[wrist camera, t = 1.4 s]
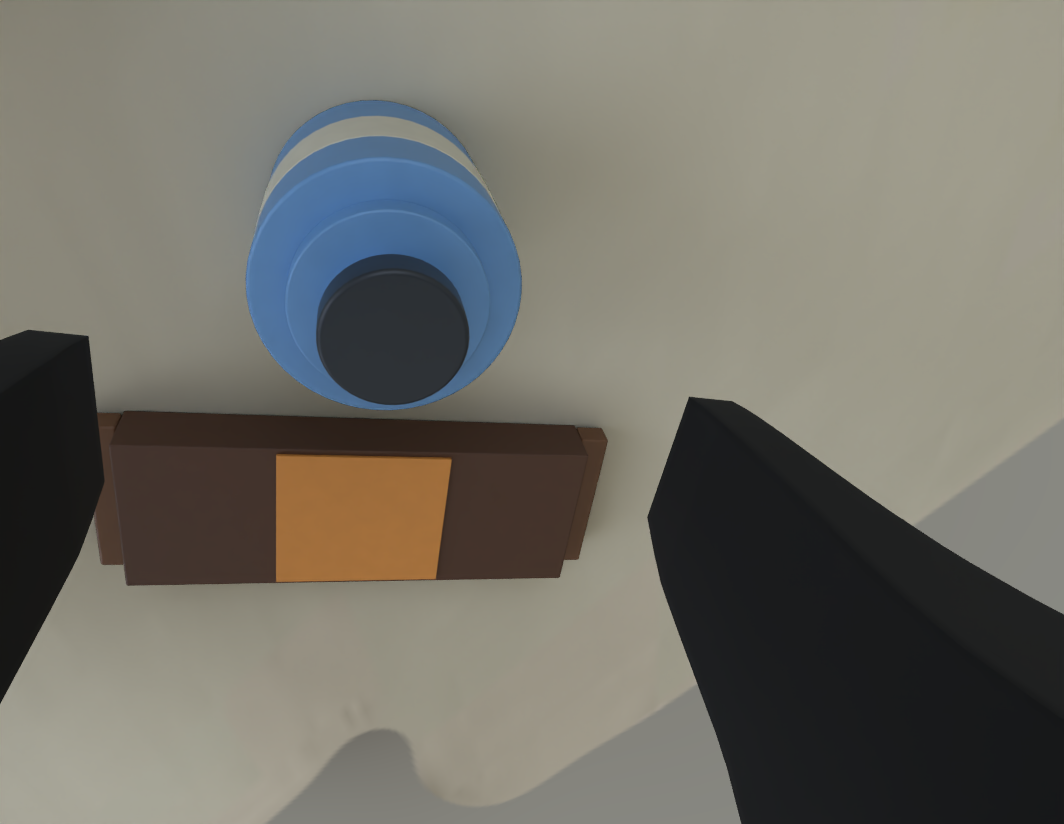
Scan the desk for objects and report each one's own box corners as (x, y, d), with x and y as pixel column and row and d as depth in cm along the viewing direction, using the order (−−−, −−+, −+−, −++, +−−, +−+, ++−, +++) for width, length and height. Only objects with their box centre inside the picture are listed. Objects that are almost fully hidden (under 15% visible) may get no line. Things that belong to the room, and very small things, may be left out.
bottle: (382, 346, 21) (396, 512, 15) (219, 208, 18) (161, 346, 12) (526, 213, 19) (602, 337, 14) (374, 46, 17) (391, 114, 11)
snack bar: (107, 546, 22) (91, 590, 21) (89, 408, 20) (68, 446, 18) (572, 543, 26) (586, 580, 24) (601, 425, 23) (617, 458, 22)
